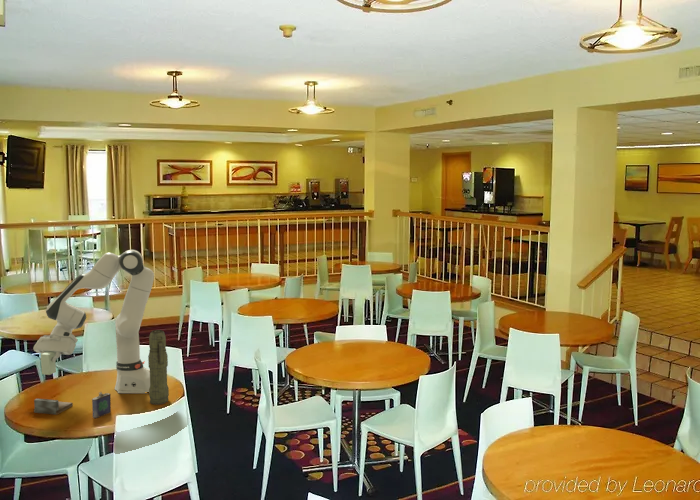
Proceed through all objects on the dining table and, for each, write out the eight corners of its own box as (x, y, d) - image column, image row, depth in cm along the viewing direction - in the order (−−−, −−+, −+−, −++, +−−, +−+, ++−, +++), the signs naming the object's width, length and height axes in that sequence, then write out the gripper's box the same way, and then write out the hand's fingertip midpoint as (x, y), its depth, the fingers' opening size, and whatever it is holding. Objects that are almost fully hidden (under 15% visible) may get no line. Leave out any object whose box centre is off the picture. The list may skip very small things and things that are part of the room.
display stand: (72, 405, 279) (72, 393, 278) (57, 414, 268) (56, 401, 268) (50, 403, 281) (49, 391, 281) (33, 412, 271) (33, 399, 270)
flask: (95, 419, 264) (94, 395, 263) (90, 417, 265) (89, 394, 264) (112, 412, 272) (111, 389, 271) (108, 411, 273) (107, 388, 272)
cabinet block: (56, 372, 289) (54, 352, 288) (49, 374, 285) (48, 354, 284) (48, 371, 290) (47, 351, 289) (41, 374, 286) (40, 354, 285)
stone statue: (155, 407, 279) (153, 334, 275) (145, 400, 287) (143, 330, 283) (173, 402, 285) (171, 331, 281) (162, 395, 293) (160, 327, 289)
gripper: (38, 331, 294) (25, 356, 286) (74, 333, 290) (62, 358, 282) (45, 338, 299) (32, 362, 291) (80, 340, 295) (68, 365, 287)
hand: (47, 360), depth 286 cm, fingers closed on cabinet block, 4 cm apart
